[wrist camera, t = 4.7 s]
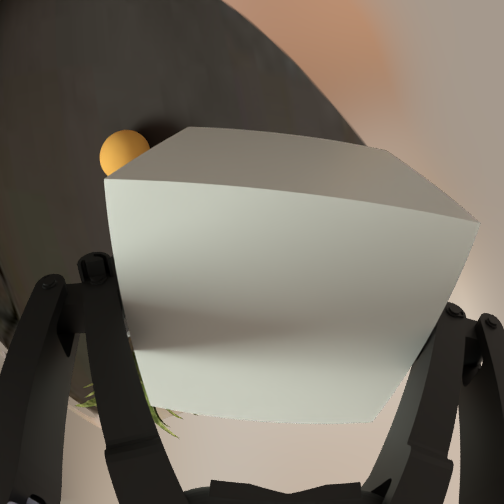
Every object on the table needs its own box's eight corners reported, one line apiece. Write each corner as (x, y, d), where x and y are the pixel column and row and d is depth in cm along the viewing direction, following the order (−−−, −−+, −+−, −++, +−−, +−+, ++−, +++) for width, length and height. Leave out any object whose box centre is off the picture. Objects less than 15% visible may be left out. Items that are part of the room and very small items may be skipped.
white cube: (188, 126, 15) (103, 179, 7) (386, 150, 15) (480, 223, 7) (189, 290, 20) (150, 405, 12) (345, 305, 20) (372, 422, 12)
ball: (113, 127, 28) (88, 136, 24) (157, 125, 28) (137, 134, 23) (115, 172, 30) (93, 188, 26) (158, 173, 30) (140, 189, 26)
